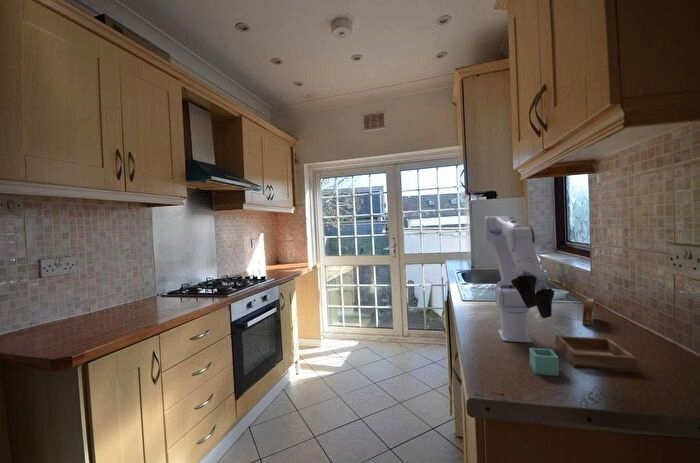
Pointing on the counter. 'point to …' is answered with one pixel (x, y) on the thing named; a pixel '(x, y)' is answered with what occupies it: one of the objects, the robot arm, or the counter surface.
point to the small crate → (544, 361)
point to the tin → (588, 311)
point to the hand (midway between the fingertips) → (539, 311)
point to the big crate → (596, 354)
